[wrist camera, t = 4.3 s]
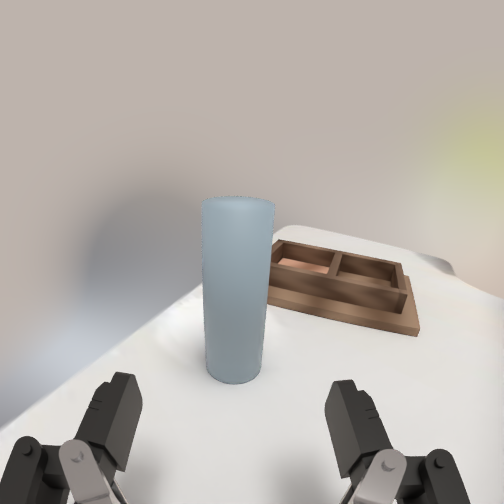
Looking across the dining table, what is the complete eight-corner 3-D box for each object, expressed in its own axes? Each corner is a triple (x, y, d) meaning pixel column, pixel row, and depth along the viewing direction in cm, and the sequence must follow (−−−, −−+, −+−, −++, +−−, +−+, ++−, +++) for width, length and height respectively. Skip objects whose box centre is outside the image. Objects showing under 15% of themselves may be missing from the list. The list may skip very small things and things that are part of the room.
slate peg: (251, 344, 24) (261, 196, 20) (268, 378, 20) (286, 210, 16) (202, 350, 23) (198, 196, 18) (212, 387, 19) (207, 212, 14)
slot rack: (406, 282, 37) (412, 260, 36) (417, 336, 25) (427, 308, 24) (268, 254, 45) (270, 232, 43) (227, 292, 33) (227, 265, 31)
